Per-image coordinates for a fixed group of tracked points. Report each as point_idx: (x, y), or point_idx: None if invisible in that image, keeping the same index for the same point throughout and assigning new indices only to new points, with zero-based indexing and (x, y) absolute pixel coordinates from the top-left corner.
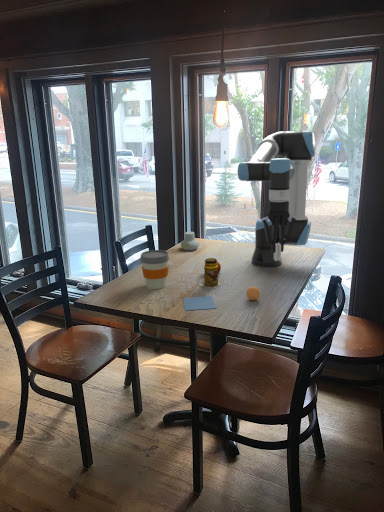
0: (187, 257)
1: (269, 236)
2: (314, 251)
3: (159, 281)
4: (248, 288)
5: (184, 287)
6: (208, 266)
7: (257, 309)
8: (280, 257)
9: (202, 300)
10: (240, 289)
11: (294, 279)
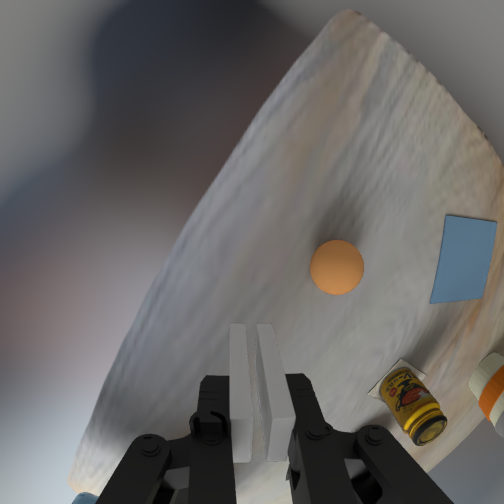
0: None
1: (408, 485)
2: (78, 485)
3: (499, 362)
4: (359, 279)
5: (453, 364)
6: (438, 408)
7: (339, 173)
8: (232, 336)
9: (457, 276)
10: (336, 349)
11: (134, 391)
